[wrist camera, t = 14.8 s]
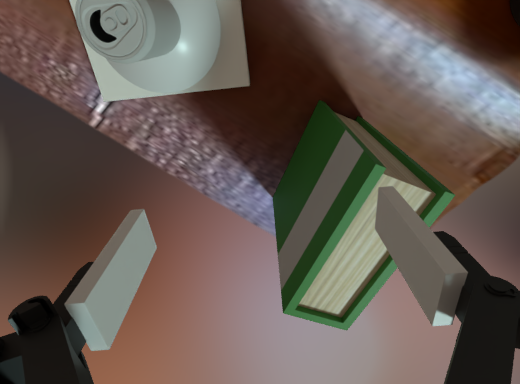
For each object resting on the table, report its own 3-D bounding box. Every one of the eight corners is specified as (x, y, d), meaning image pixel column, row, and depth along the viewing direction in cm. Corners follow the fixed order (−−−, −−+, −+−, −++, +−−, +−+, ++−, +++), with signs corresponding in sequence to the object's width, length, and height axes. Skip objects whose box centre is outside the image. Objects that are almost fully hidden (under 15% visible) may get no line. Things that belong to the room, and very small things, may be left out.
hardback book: (319, 99, 44) (376, 164, 23) (363, 118, 45) (455, 195, 24) (272, 197, 52) (283, 313, 31) (311, 210, 53) (346, 330, 32)
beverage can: (115, 8, 34) (51, -2, 23) (164, -19, 33) (120, -42, 22) (146, 64, 37) (101, 77, 26) (192, 41, 36) (165, 46, 25)
